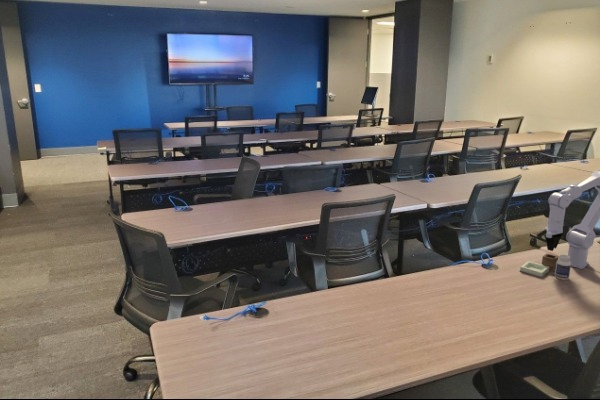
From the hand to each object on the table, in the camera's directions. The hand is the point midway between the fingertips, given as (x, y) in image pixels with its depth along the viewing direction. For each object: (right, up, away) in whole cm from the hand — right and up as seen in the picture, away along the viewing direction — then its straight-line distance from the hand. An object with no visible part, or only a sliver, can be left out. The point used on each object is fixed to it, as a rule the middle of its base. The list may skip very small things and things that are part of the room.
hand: (551, 249), depth 202 cm
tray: (-8, -10, 0) cm, 13 cm away
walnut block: (0, -9, +3) cm, 10 cm away
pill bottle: (+1, -12, -6) cm, 13 cm away
